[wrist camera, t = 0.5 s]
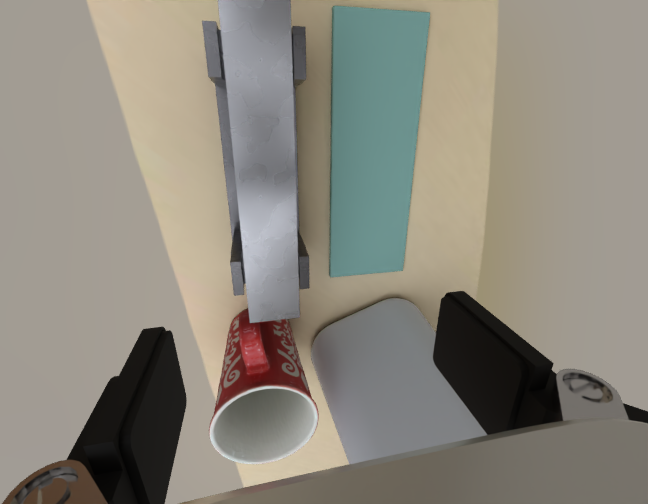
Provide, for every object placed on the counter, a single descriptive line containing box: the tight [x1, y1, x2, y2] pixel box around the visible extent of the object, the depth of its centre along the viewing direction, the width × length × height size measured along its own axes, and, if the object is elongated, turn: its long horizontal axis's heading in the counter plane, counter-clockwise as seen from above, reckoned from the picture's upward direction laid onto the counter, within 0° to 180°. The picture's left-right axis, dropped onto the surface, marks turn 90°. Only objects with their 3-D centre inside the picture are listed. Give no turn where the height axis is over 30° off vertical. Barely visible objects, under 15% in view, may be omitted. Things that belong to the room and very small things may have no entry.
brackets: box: [202, 21, 309, 296], centre depth 28 cm, size 20×7×9 cm, turn 0°
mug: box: [209, 309, 319, 464], centre depth 32 cm, size 13×9×14 cm
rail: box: [218, 0, 300, 323], centre depth 24 cm, size 22×4×4 cm, turn 0°
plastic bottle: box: [311, 298, 487, 464], centre depth 31 cm, size 15×15×28 cm
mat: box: [329, 6, 430, 277], centre depth 34 cm, size 26×9×1 cm, turn 0°
